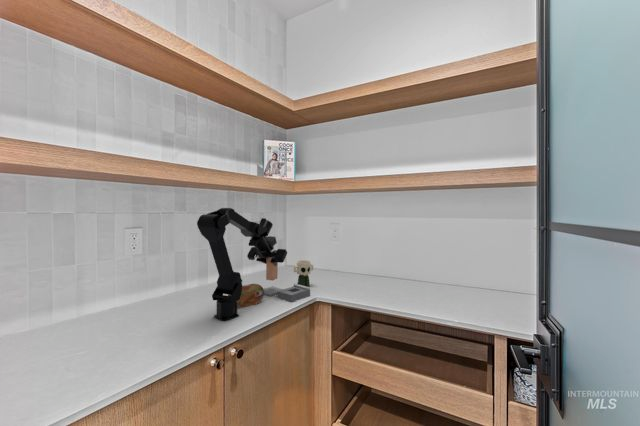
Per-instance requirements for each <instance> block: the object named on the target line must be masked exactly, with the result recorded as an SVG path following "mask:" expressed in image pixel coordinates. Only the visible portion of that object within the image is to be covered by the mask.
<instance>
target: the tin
mask: <svg viewBox="0 0 640 426" xmlns="http://www.w3.org/2000/svg"><path fill="white" fill-rule="evenodd" d="M263 289H264V288H263V287H262V285H260V284H258V283H249V284H244V285H242V292H241V297H240V300H238V301H236V302H237V309H241V308H245V307H249V306H253V305H254V306H255V305H257V304H259V303H260V302H261V301H262V300H263V298H264V295H265V294H264V290H263ZM227 296H231V295H229V294H227Z"/></svg>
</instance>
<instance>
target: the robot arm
mask: <svg viewBox="0 0 640 426" xmlns="http://www.w3.org/2000/svg"><path fill="white" fill-rule="evenodd" d="M229 224H230V225H232V226H235V228H238V229H239V230H240V233H241V235H242V236H244V237H246V238H247V237H248V238H250V239H249V242H248V246H249V247H251V248H250V250H249V251H248V252H247V255H246V256H247V258H248V260H249V261H254V260H256V261H257V262H259V263H263V264H265V265H266V258H272V259H271V261H270V262H271V263H272V264H274V265H275V266H277V265H278V263H283V262H285V260H286V257H287V255H288V251H287V249H286V248H277V249H275V247H274V246H276V245H277V238H276V236H269V234H270V232H271V230H272V229H273V225H274V224H273V223H272V222H271V221H270V220H268V219H267V218H261V219H260V221H259V223H258V222H254V221H250V220H248V219H247V218H245V217H244V216H242V215H241V214H240V213H238V212H237V211H235V209H234V208H231V207H221V208H219V209H217V210H214V211H212V212H208V213H206V214H205V213H204V214H202V215H200V216H199V218H198V219H197V221H196V225H197V229H198V230H199V233H200V234H201V236H203V237H204V238H205V239H206V240H207V241H208V244H209V246H210V247H209V248H210V251H211V254H212V256H213V259H214V263H215V266H216V270H217V273H218V277H217V280H216V285H217V286H216V287H215V290H213V292H212V295H211V297H212V300H213V301H216V314H214V316H213V317H214V318H216V319H218V320H220V321H222V322H225V321H228V320H232V319H234V318H237V317H239V315H240V314H239V313H238V308H237V302H236V301H238V300H240V297H241V292H242V286H243V279H242V275H241V272H238V271H234V269H233V267H232V266H233V265H232V263H231V260H230V256H229V252H228V249H227V245H226V242H225V239H224V236H225V233H226V230H227V229H226V226H228V225H229ZM278 266H279V265H278ZM228 294H229V295H231V296H228Z"/></svg>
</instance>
